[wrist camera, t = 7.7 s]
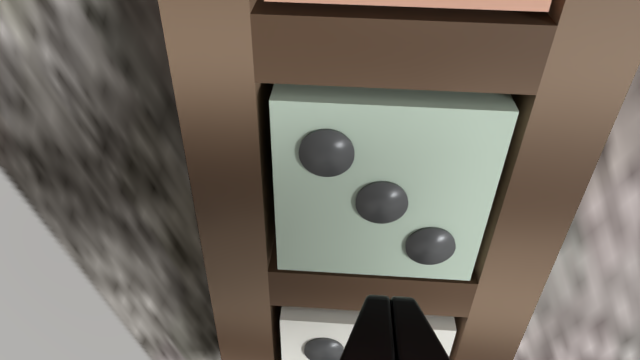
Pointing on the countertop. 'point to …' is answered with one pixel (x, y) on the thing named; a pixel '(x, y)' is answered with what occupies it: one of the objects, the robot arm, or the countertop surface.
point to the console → (393, 73)
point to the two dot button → (335, 332)
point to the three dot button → (385, 177)
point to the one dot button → (445, 4)
